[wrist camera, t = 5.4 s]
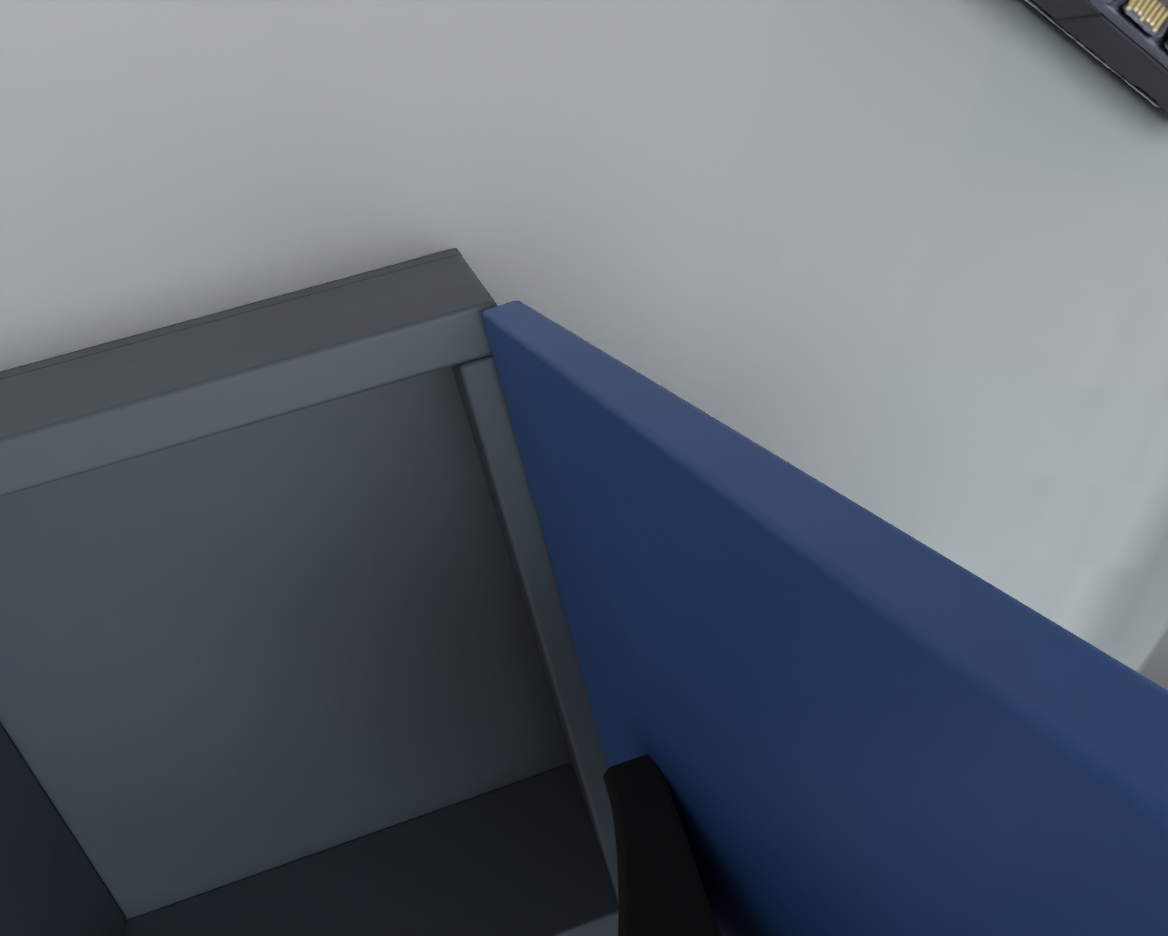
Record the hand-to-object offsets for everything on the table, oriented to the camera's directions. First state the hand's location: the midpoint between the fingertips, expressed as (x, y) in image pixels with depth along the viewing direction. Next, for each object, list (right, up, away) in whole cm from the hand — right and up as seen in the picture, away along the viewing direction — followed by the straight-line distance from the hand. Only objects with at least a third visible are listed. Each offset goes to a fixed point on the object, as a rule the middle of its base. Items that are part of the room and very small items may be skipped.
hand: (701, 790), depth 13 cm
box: (-9, +1, +7) cm, 11 cm away
